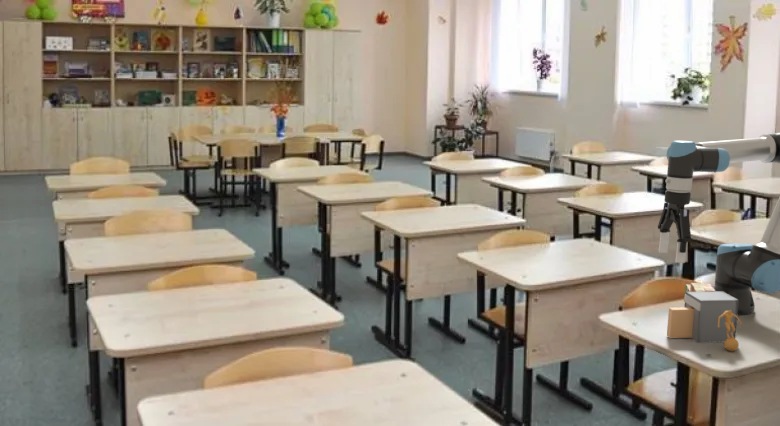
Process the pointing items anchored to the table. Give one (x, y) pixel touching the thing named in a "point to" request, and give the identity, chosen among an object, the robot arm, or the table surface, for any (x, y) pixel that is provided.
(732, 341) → the figurine
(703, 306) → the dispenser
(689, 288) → the stack of blocks
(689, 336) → the light orange rectangular block
